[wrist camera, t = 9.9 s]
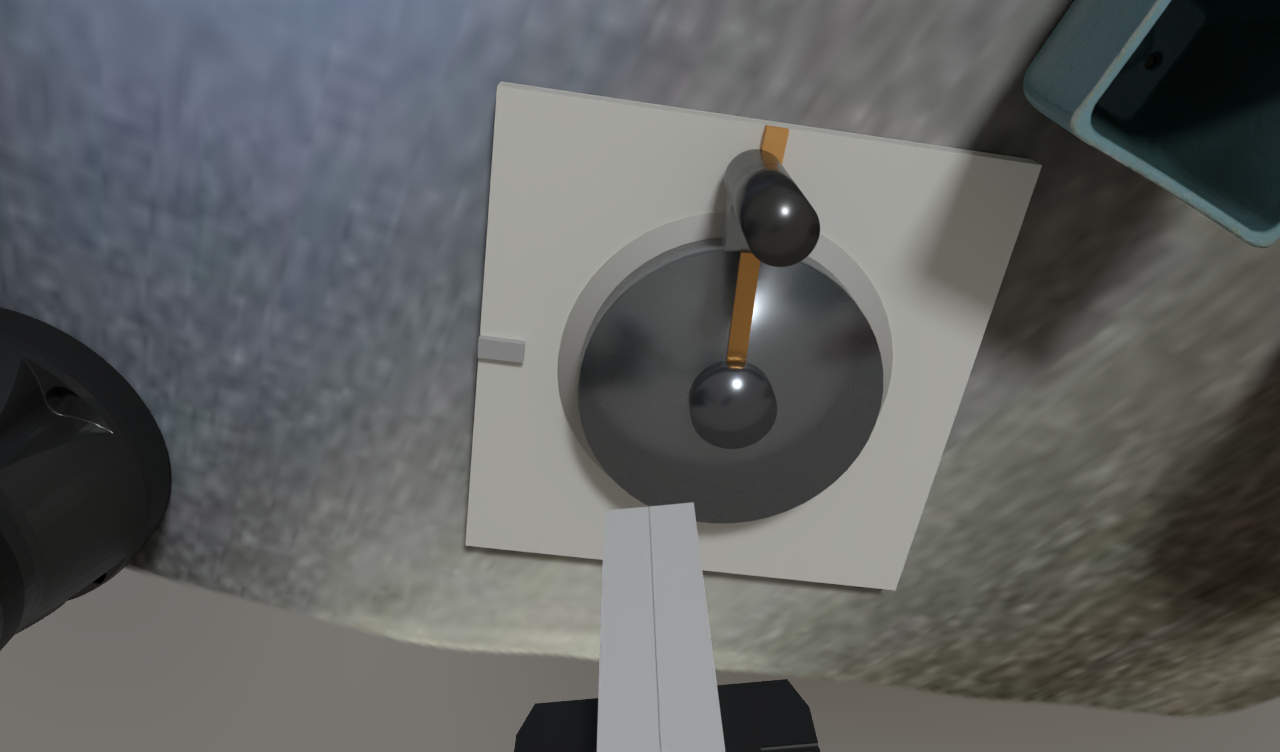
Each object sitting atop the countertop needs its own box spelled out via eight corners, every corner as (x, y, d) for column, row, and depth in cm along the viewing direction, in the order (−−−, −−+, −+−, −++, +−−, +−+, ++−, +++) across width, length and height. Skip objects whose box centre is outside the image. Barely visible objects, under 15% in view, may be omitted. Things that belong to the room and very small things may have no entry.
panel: (469, 530, 44) (464, 550, 43) (501, 81, 35) (495, 87, 33) (888, 575, 46) (897, 595, 45) (1029, 159, 36) (1046, 167, 35)
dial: (843, 505, 42) (885, 612, 35) (573, 491, 42) (564, 597, 35) (917, 158, 35) (988, 209, 28) (591, 134, 34) (584, 181, 27)
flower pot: (1284, -12, 34) (1492, 2, 26) (1128, 188, 37) (1268, 256, 29) (1111, -136, 32) (1276, -163, 24) (963, 87, 35) (1064, 130, 27)
